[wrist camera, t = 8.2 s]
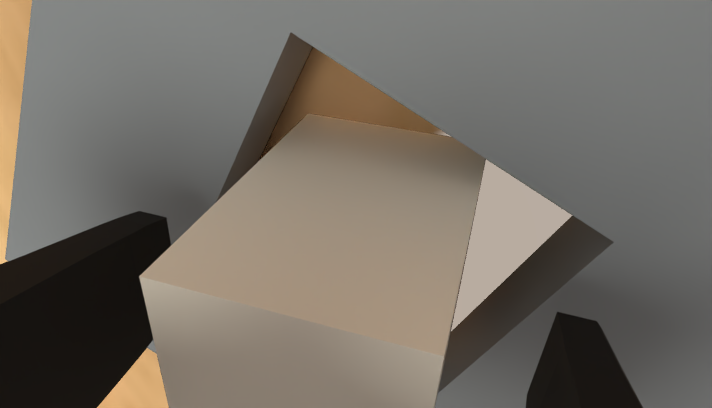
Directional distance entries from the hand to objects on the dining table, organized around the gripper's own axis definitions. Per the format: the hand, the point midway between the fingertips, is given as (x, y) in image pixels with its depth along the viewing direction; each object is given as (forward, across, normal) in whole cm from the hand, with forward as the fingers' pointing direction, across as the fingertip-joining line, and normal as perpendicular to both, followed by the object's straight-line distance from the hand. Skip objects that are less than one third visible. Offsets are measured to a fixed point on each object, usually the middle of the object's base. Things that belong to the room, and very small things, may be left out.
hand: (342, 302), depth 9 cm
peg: (+3, 0, 0) cm, 3 cm away
